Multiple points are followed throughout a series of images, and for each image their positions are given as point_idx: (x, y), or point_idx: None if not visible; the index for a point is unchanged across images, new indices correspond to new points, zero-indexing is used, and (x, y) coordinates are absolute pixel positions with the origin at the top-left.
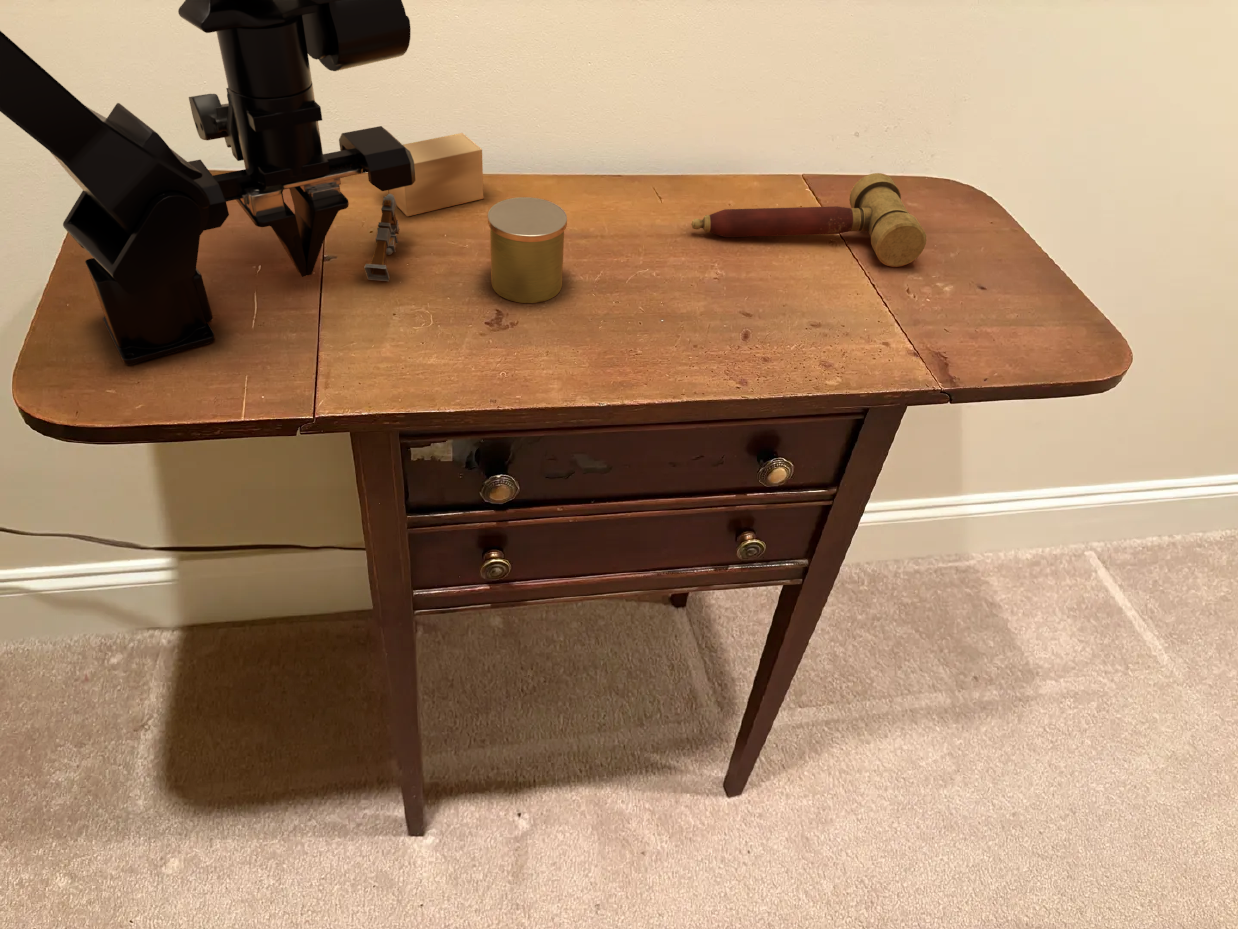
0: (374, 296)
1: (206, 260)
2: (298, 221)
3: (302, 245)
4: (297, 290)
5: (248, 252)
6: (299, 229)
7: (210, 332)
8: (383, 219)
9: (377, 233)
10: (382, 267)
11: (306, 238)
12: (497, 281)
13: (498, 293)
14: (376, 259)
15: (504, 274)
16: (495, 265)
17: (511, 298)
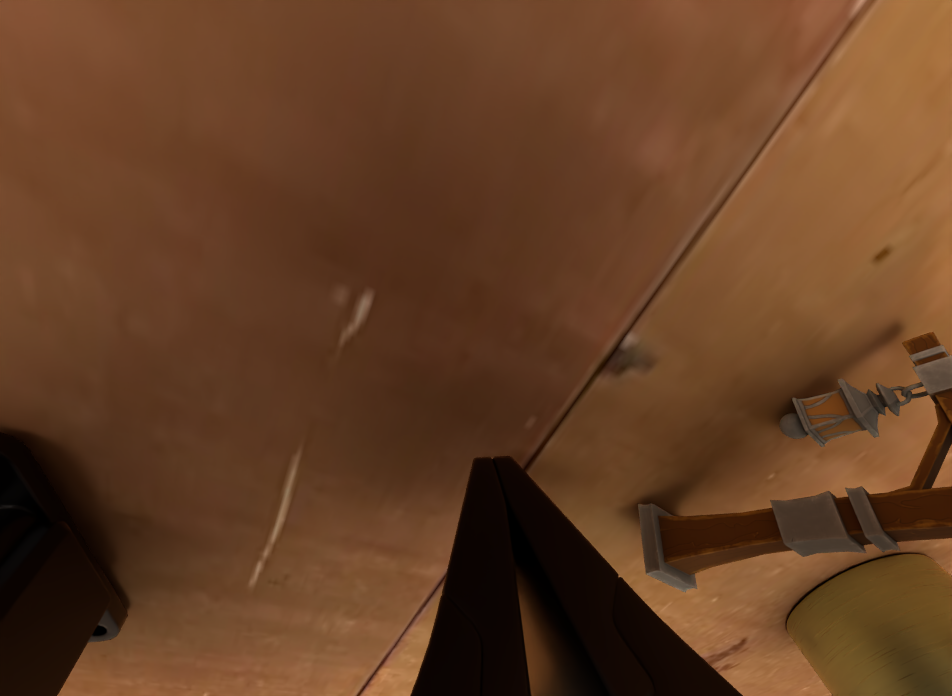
0: None
1: (84, 99)
2: (579, 691)
3: (523, 597)
4: (435, 484)
5: (349, 141)
6: (557, 646)
7: (106, 624)
8: (912, 531)
9: (816, 540)
10: (682, 587)
11: (541, 689)
12: (816, 647)
13: (792, 617)
14: (702, 559)
15: (835, 691)
16: (853, 688)
17: (791, 636)
